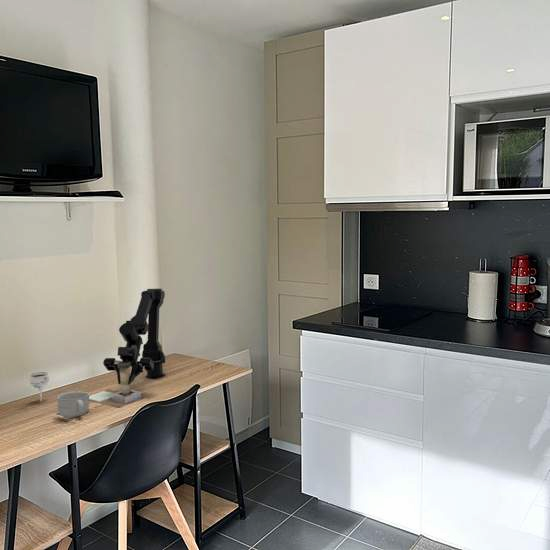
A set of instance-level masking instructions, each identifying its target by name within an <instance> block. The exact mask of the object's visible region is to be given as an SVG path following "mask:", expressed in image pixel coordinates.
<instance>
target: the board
mask: <svg viewBox="0 0 550 550" xmlns="http://www.w3.org/2000/svg"><path fill="white" fill-rule="evenodd" d="M104 391H106V392H110V393H117V392H119V391H118V390H113V389H110V388H108V389H105V390H104ZM94 394H95V393H94ZM94 394H93V393H92V394H91V395H94ZM91 395H90V394H89V396H91ZM143 399H146V397H145V396H141V398H140V399H138V400H135V401H132V402H130V403H127V404H123V403H118V402H114V401H112V398H111V399H108V400H105V401H103V402H100V403H99V402H95V401H91V400H89V402H92V403H97V404H101V405H105V406H109V407H113V408H117V409H119V408H123V407H125V406H127V405H130V404H133V403H135V402H139V401H141V400H143Z"/></svg>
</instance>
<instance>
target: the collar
mask: <svg viewBox="0 0 550 550" xmlns="http://www.w3.org/2000/svg"><path fill="white" fill-rule="evenodd" d="M141 397H142V391H140V390H139V391H138V390H135V389H134V390H133V389H131V394H129V395H127V396H124V395H121V390H120V391H118V392H117V393H114V394H111V398H112V401H114V402H118V403H123V404H127V403H130V402H132V401H135V400H138V399H140V398H141ZM138 401H139V400H138Z"/></svg>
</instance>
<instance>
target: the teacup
mask: <svg viewBox="0 0 550 550" xmlns="http://www.w3.org/2000/svg"><path fill="white" fill-rule="evenodd" d="M89 396H90V393H89V392H86V391H70V392H64V393H60V394H59V395H58V396H57V397H56V398H57V410H58V413H59V415H60V416H61V417H63V418H64V419H67V420H74V418H76V417H80V416H83V415H85V414H86V413H88V412H89V408H90V401H89Z"/></svg>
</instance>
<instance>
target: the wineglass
mask: <svg viewBox="0 0 550 550" xmlns="http://www.w3.org/2000/svg"><path fill="white" fill-rule="evenodd" d="M48 374H49V372H47V371H43V372H42V371H41V372H40V371H39V372H35V373H31V374H29V377H30V378H29V383H30V385H31V386H32V387H34V389H35V388H36V389H38V391H39V399H40V400H39V401H40V403H42V402H43V399H42V397H43V396H42V389H43V387H45V386H47V384H48V383H49V381H50V378H49V376H48Z"/></svg>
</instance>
